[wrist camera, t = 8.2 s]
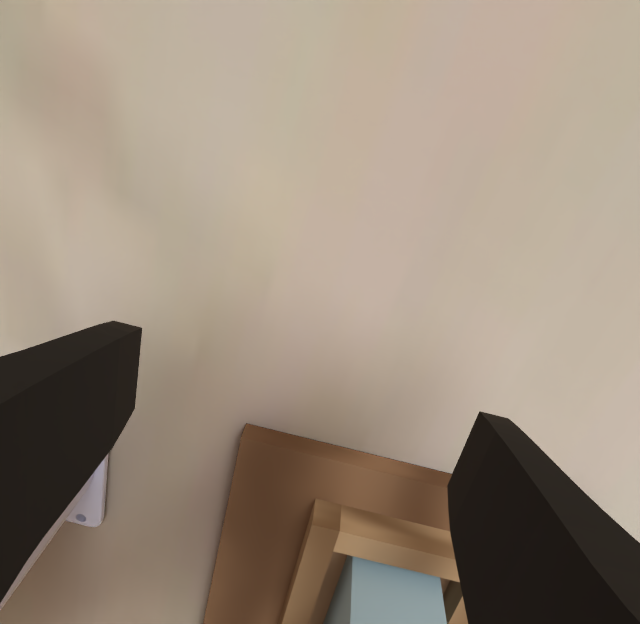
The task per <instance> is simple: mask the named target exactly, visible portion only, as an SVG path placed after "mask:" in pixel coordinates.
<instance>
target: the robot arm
mask: <svg viewBox="0 0 640 624" xmlns="http://www.w3.org/2000/svg"><path fill="white" fill-rule="evenodd" d="M141 334H142V328H141V327H136V326H132V325H128V324H124V323H120V322H116V321H111V322H106V323H103V324H99V325H96V326H93V327H90V328H87V329H84V330H81V331H78V332H75V333H72V334H69V335H66V336H63V337H60V338H57V339H54V340H51V341H48V342H45V343H42V344H39V345H36V346H34V347H31V348H28V349H25V350H21V351H18V352H15V353H11V354H8V355H5V356H1V357H0V611H1V609H2V608H3V606H4V605H5V604H6V602H7V601H8V599H9V598H10V597H11V595H12V594H13V593H14V591H15V590H16V588H17V587H18V586H19V584H20V583H21V581H22V580H23V579H24V577H25V576H26V574H27V573H28V572H29V570H30V569H31V567H32V566H33V565H34V563H35V562H36V561H37V559H38V558H39V556H40V555H41V554H42V552H43V551H44V549H45V548H46V547H47V545H48V544H49V542H50V541H51V540H52V538H53V537H54V535H55V534H56V533H57V531H58V530H59V528H60V527H61V526H62V524H63V523H64V522H65V521H68V522H73V523H77V524H81V525H85V526H89V527H97V526H99V525H100V524H101V523H102V521H103V519H104V511H105V497H106V482H107V468H108V454H109V452H110V450H111V449H112V447H113V446H114V444H115V442H116V441H117V439H118V437H119V436H120V434H121V432H122V430H123V429H124V427H125V425H126V423H127V421H128V420H129V418H130V416H131V414H132V412H133V411H134V409H135V399H136V388H137V377H138V367H139V356H140V345H141ZM447 491H448V512H449V525H450V534H451V540H452V545H453V550H454V555H455V560H456V566H457V571H458V576H459V580H460V585H461V590H462V595H463V600H464V605H465V610H466V615H467V620H468V624H640V543H639V542H638V541H637V540H635V539H634V538H633V537H632V536H631V535H630V534H629V533H628V532H626V531H625V530H624V529H623V528H622V527H621V526H620V525H619V524H618V523H616V522H615V521H614V520H613V519H612V518H611V517H610V516H609V515H608V514H607V513H605V512H604V511H603V510H602V509H601V508H600V507H599V506H598V505H597V504H596V503H595V502H594V501H593V500H592V499H591V498H590V497H589V496H587V495H586V494H585V493H584V492H583V491H582V490H581V489H580V488H579V487H578V486H577V485H576V484H575V483H574V482H573V481H572V480H571V479H570V478H569V477H568V476H567V475H566V474H565V473H564V472H563V471H562V470H561V469H560V468H559V467H558V466H557V465H556V464H555V463H554V462H553V461H552V460H551V459H550V458H549V457H548V456H547V455H546V454H545V453H544V452H543V451H542V450H541V449H540V448H539V447H538V446H537V445H536V444H535V443H534V442H533V441H532V440H531V439H530V438H529V437H528V436H527V435H526V434H525V433H524V432H523V431H522V430H521V429H520V428H519V427H518V426H516V425H515V424H514V423H513V422H512V421H511V420H509V419H508V418H504V417H500V416H496V415H492V414H488V413H484V412H479V414H478V416H477V419H476V421H475V423H474V425H473V428H472V430H471V432H470V435H469V437H468V439H467V441H466V444H465V446H464V448H463V451H462V453H461V455H460V457H459V460H458V462H457V464H456V467H455V469H454V471H453V474H452V476H451V478H450V480H449V483H448V485H447Z"/></svg>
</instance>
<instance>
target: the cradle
mask: <svg viewBox="0 0 640 624" xmlns="http://www.w3.org/2000/svg"><path fill="white" fill-rule="evenodd" d="M451 476H452V474H449V473H445V472H441V471H437V470H433V469H429V468H425V467H421V466H417V465H413V464H409V463H405V462H400V461H396V460H392V459H388V458H384V457H380V456H376V455H372V454H368V453H364V452H360V451H356V450H352V449H348V448H344V447H340V446H336V445H331V444H327V443H323V442H319V441H315V440H311V439H307V438H303V437H299V436H295V435H291V434H287V433H283V432H279V431H275V430H271V429H267V428H263V427H258V426H254V425H250V424H246V426H245V428H244V431H243V434H242V436H241V440H240V445H239V450H238V455H237V460H236V465H235V470H234V475H233V480H232V485H231V489H230V494H229V499H228V504H227V509H226V514H225V519H224V524H223V529H222V534H221V538H220V543H219V548H218V553H217V558H216V563H215V568H214V573H213V578H212V583H211V587H210V592H209V597H208V602H207V607H206V612H205V617H204V622H203V624H323V623H324V620H325V617H326V614H327V611H328V608H329V606H330V603H331V600H332V597H333V594H334V592H335V589H336V586H337V583H338V580H339V577H340V575H341V572H342V569H343V566H344V563H345V561H346V558H347V555H350V556H354V557H358V558H362V559H367V560H371V561H375V562H379V563H383V564H387V565H391V566H395V567H399V568H403V569H407V570H411V571H416V572H420V573H424V574H428V575H432V576H436V577H440V580H441V587H442V594H443V601H444V607H445V614H446V621H447V624H468V620H467V615H466V610H465V605H464V600H463V595H462V590H461V585H460V580H459V576H458V571H457V566H456V560H455V555H454V550H453V545H452V540H451V534H450V525H449V512H448V491H447V485H448V483H449V480H450V478H451Z"/></svg>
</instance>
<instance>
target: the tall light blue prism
mask: <svg viewBox="0 0 640 624" xmlns="http://www.w3.org/2000/svg"><path fill="white" fill-rule="evenodd" d="M323 624H447V621H446V614H445V607H444V601H443V594H442V587H441V580H440V577H436V576H432V575H428V574H424V573H420V572H416V571H411V570H407V569H403V568H399V567H395V566H391V565H387V564H383V563H379V562H375V561H371V560H367V559H362V558H358V557H354V556H350V555H347V558H346V561H345V563H344V566H343V569H342V572H341V575H340V577H339V580H338V583H337V586H336V589H335V592H334V594H333V597H332V600H331V603H330V606H329V608H328V611H327V614H326V617H325V620H324V623H323Z"/></svg>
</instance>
